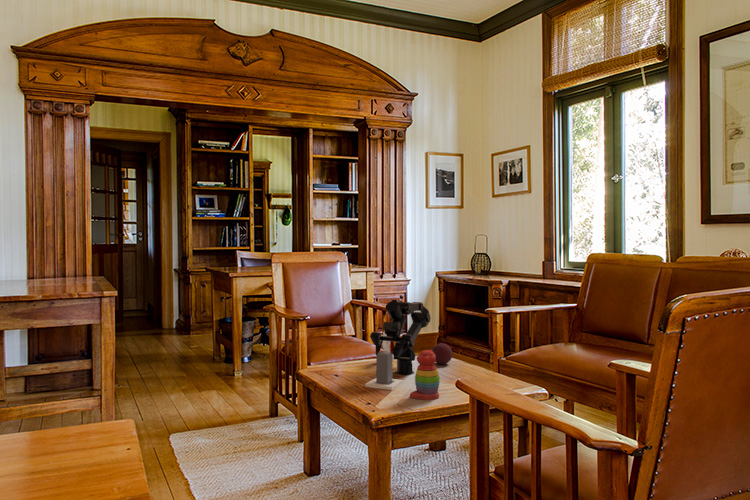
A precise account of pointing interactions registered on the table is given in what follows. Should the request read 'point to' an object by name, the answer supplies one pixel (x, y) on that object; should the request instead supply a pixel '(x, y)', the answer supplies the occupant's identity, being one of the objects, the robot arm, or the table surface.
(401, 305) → the robot arm
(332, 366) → the table surface
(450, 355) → the decorative ball
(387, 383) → the plug
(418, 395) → the stacking bear
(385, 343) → the figurine
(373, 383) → the socket
